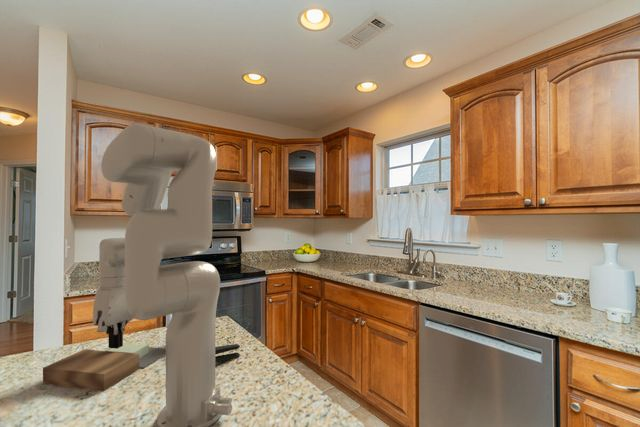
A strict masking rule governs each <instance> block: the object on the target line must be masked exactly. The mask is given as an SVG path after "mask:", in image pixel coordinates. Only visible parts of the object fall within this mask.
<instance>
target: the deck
mask: <svg viewBox="0 0 640 427" xmlns="http://www.w3.org/2000/svg"><path fill="white" fill-rule="evenodd" d="M138 369H139V370H140V368H139V354H131V353H120V352H108V351H106V350H97V349H95V350H94V349H82V350H79V351H77V352H75V353H73V354H71V355H68V356H66V357H64V358H61V359H60V360H57V361H55V362H53V363H50V364H49V365H46V366H44V367H42V385H48V386H56V387H66V388H74V389H75V388H76V389H82V390H83V389H84V390H90V391H99V392H105V391H107V390H109V389H110V388H112V387H113V386H115V385H117V384H118V383H119V382H121V381H123V380H124V379H126V378H127V377H129V376H131V375H133V374H134V373H136V372H137V371H139V370H138Z"/></svg>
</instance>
